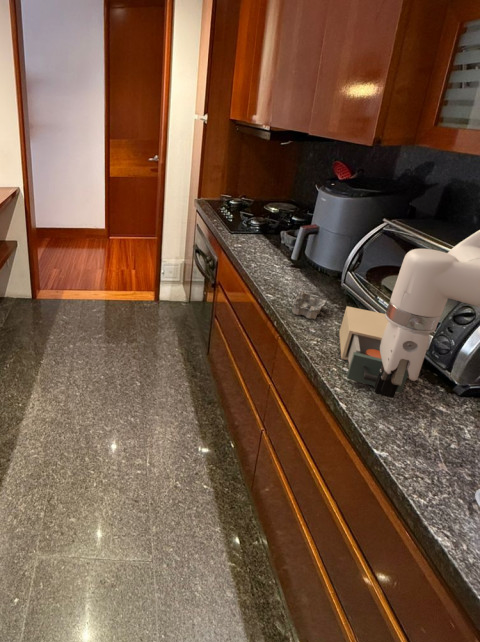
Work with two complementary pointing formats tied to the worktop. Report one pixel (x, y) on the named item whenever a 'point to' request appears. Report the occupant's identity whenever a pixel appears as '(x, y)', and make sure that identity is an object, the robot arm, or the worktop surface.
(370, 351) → the orange cylinder
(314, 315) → the egg carton
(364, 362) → the green-fronted drawer
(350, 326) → the wooden drawer box
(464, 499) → the worktop surface
